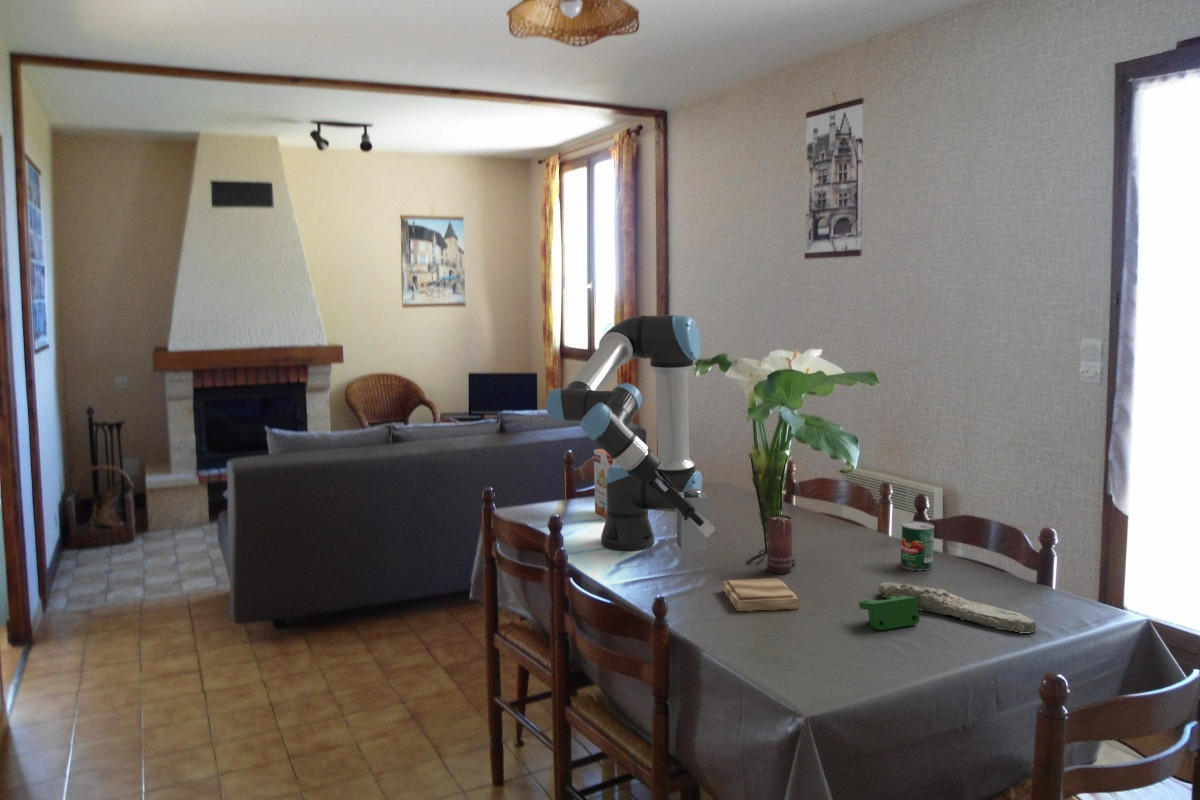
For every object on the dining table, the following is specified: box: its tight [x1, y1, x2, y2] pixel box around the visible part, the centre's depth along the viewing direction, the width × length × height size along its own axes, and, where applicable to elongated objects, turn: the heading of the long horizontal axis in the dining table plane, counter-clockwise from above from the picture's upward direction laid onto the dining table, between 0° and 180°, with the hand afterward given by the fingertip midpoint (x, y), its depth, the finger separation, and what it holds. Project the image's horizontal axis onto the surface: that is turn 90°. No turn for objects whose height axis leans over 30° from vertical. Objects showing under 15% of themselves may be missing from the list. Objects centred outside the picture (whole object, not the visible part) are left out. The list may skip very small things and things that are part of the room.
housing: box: [676, 489, 709, 551], centre depth 205 cm, size 6×6×13 cm
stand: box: [722, 577, 800, 612], centre depth 208 cm, size 14×14×3 cm
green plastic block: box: [858, 596, 920, 631], centre depth 193 cm, size 12×6×9 cm, turn 104°
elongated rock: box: [877, 581, 1038, 632], centre depth 199 cm, size 35×5×10 cm
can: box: [766, 514, 793, 575], centre depth 228 cm, size 6×6×14 cm
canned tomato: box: [900, 520, 935, 572], centre depth 231 cm, size 8×8×11 cm
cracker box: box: [593, 448, 615, 519], centre depth 284 cm, size 14×6×21 cm, turn 25°
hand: (707, 529), depth 205 cm, fingers closed on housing, 6 cm apart
